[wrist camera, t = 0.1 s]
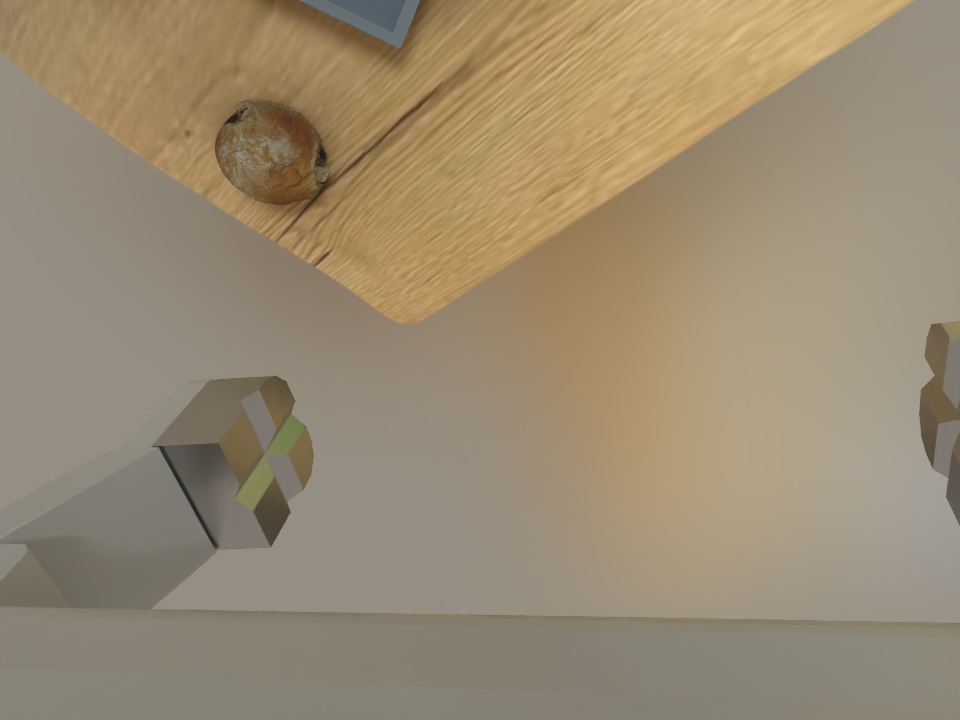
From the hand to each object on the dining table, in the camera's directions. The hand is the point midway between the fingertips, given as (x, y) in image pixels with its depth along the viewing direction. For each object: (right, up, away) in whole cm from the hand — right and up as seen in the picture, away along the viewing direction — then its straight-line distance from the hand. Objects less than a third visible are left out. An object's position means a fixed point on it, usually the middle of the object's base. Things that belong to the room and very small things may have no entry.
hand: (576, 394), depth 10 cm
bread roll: (-20, +21, +62) cm, 69 cm away
